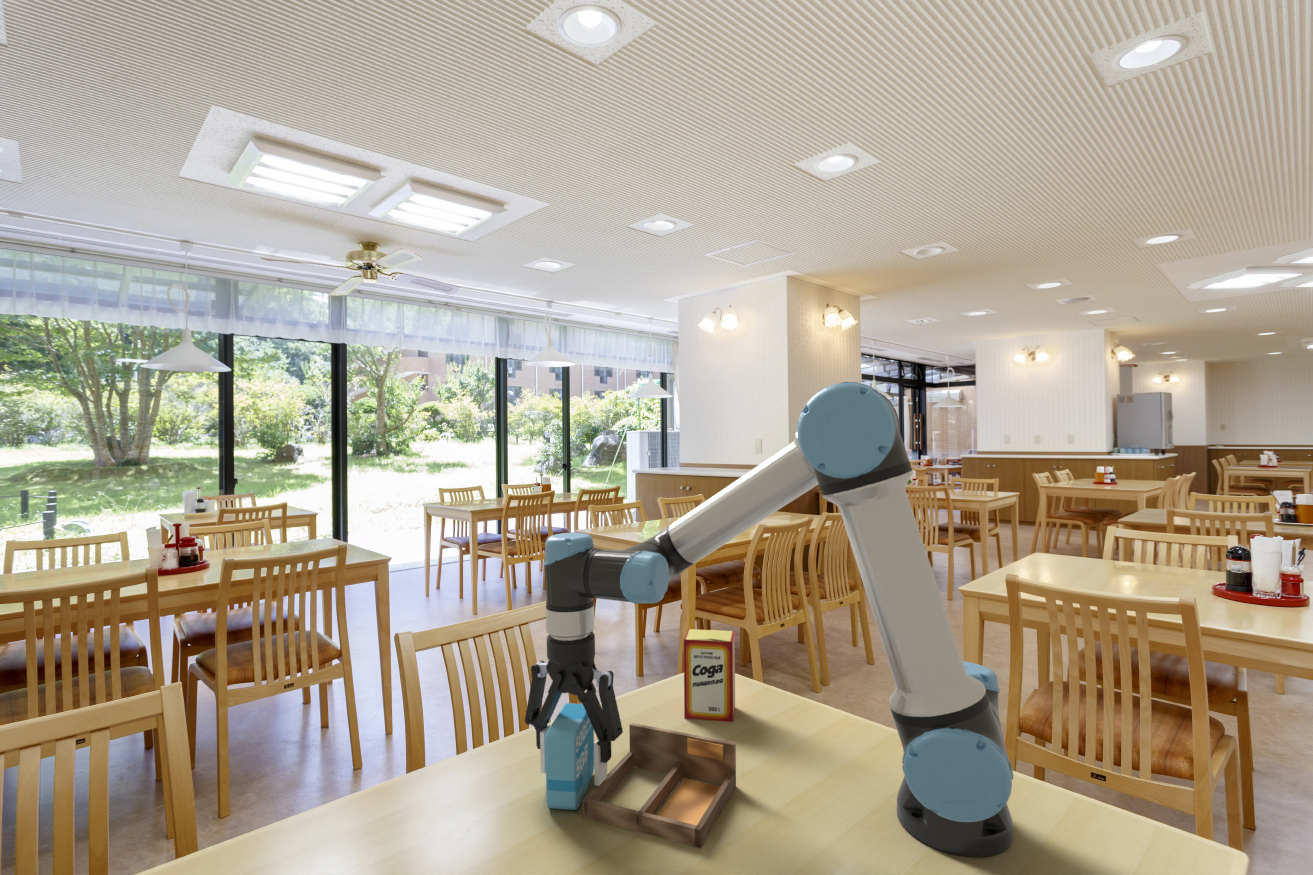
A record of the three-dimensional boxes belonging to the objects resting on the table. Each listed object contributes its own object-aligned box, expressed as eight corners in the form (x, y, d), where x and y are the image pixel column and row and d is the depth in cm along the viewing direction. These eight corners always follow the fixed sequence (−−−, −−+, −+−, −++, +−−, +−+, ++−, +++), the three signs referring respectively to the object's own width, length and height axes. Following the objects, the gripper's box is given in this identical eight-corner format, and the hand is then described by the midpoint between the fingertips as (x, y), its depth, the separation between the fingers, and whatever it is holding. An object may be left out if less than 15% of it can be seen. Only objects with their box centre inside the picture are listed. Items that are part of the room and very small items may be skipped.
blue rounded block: (575, 814, 98) (574, 734, 97) (546, 812, 98) (544, 733, 98) (594, 772, 110) (593, 700, 109) (568, 770, 110) (567, 699, 110)
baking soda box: (684, 718, 129) (683, 637, 129) (688, 704, 136) (688, 627, 135) (733, 721, 128) (732, 639, 127) (735, 707, 134) (734, 629, 134)
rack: (736, 786, 105) (735, 742, 105) (700, 848, 90) (699, 797, 90) (631, 763, 112) (631, 722, 112) (582, 816, 97) (582, 769, 97)
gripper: (643, 633, 102) (646, 776, 103) (526, 619, 111) (529, 751, 112) (621, 648, 96) (625, 802, 96) (498, 632, 104) (502, 772, 105)
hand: (573, 774), depth 104 cm, fingers open, 9 cm apart
